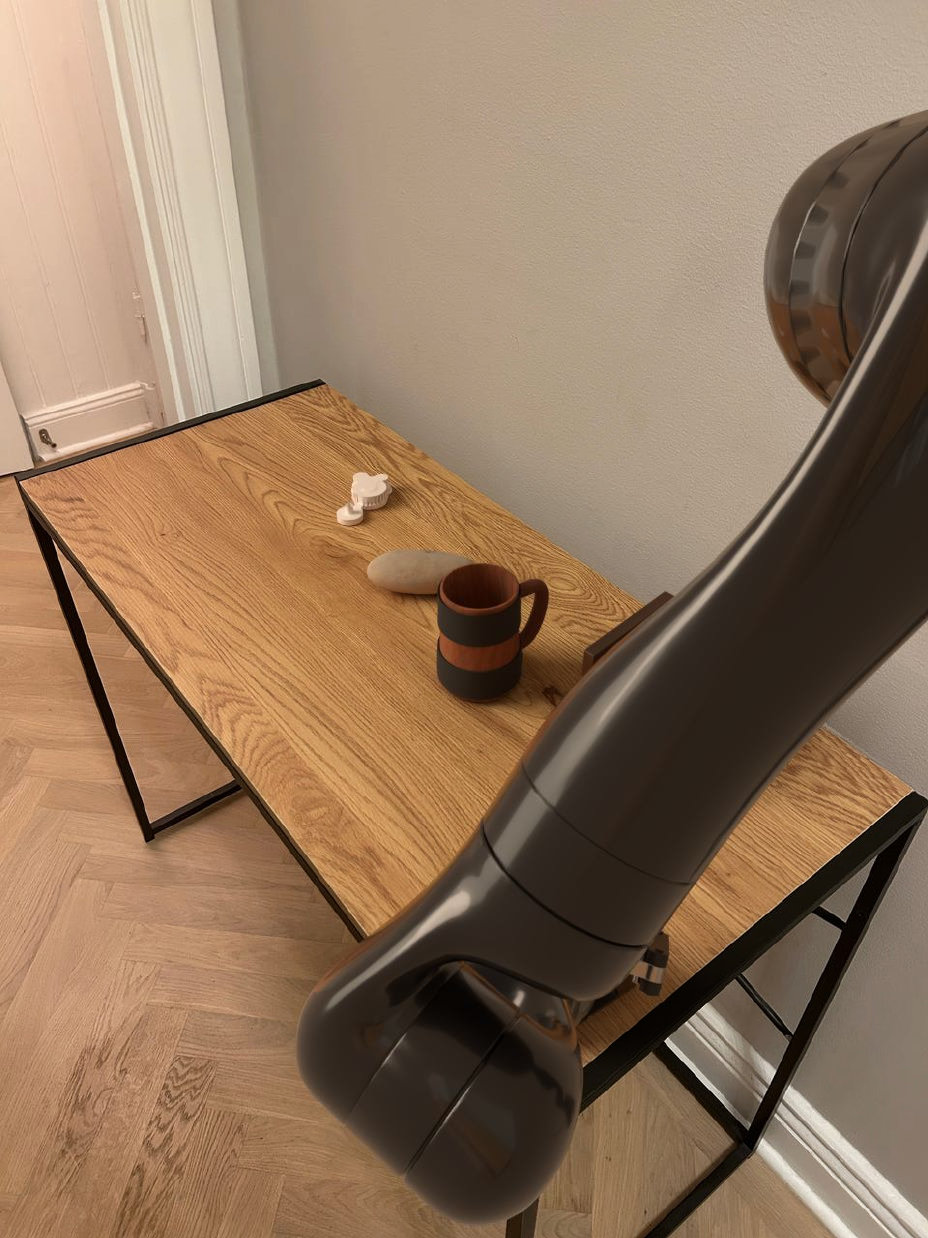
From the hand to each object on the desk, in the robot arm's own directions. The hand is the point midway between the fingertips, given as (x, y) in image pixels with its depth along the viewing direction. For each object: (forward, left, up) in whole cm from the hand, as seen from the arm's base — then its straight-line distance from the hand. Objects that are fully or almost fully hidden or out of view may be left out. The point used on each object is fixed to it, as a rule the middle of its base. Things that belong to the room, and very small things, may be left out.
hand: (577, 907), depth 66 cm
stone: (+42, -23, -8) cm, 48 cm away
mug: (+27, -19, -8) cm, 34 cm away
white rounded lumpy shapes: (+61, -30, -8) cm, 68 cm away
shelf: (+10, -25, -8) cm, 28 cm away
